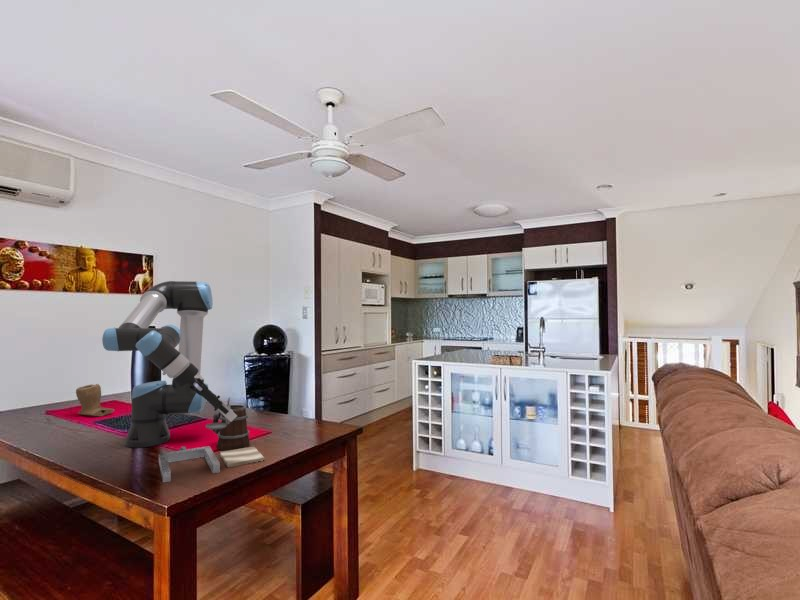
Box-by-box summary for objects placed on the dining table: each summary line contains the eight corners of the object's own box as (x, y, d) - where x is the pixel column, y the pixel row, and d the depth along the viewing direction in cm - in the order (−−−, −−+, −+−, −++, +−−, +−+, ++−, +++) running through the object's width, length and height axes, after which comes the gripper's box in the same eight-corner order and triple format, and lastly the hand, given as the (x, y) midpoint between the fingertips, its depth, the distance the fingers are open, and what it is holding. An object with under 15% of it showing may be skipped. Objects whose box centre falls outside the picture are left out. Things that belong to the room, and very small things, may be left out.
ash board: (219, 455, 153) (219, 451, 153) (253, 449, 159) (254, 446, 159) (227, 467, 141) (227, 463, 141) (264, 460, 148) (264, 457, 148)
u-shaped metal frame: (157, 457, 150) (157, 448, 150) (206, 449, 159) (206, 441, 159) (163, 482, 128) (163, 472, 128) (219, 472, 137) (219, 462, 137)
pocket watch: (201, 428, 142) (202, 398, 142) (222, 423, 149) (224, 394, 150) (217, 432, 138) (218, 401, 138) (238, 426, 145) (239, 397, 146)
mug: (255, 442, 168) (256, 404, 168) (236, 452, 156) (236, 411, 156) (222, 439, 172) (222, 402, 172) (200, 448, 160) (201, 408, 161)
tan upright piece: (69, 416, 206) (70, 385, 206) (95, 411, 217) (96, 381, 217) (89, 419, 200) (90, 387, 200) (114, 414, 210) (115, 383, 211)
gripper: (169, 375, 145) (219, 418, 153) (173, 384, 128) (228, 432, 136) (187, 359, 148) (235, 402, 156) (193, 365, 131) (246, 413, 139)
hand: (231, 416), depth 146 cm, fingers closed on pocket watch, 7 cm apart
